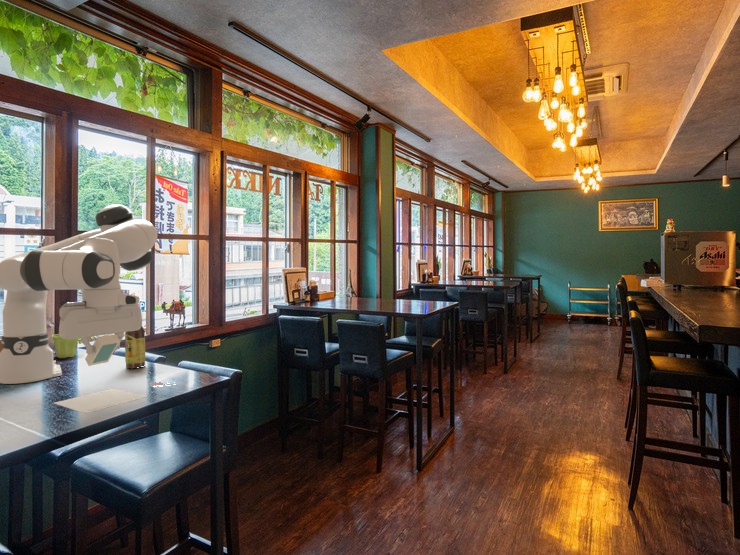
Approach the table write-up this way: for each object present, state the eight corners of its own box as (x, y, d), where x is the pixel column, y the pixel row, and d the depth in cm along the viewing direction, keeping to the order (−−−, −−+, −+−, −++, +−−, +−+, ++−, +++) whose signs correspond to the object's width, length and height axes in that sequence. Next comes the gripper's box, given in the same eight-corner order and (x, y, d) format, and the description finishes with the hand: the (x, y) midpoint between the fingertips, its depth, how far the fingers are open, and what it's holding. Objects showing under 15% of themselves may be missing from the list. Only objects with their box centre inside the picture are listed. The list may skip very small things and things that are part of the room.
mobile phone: (171, 372, 153) (178, 383, 140) (171, 375, 153) (178, 386, 140) (145, 375, 149) (151, 386, 136) (145, 378, 149) (151, 390, 136)
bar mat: (53, 404, 121) (53, 402, 121) (113, 389, 135) (113, 388, 135) (85, 415, 113) (85, 413, 113) (146, 398, 127) (146, 396, 127)
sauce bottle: (123, 367, 163) (122, 311, 162) (143, 364, 167) (141, 309, 166) (128, 370, 158) (126, 312, 157) (147, 367, 162) (146, 311, 161)
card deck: (85, 358, 123) (97, 337, 119) (103, 355, 127) (116, 334, 124) (88, 366, 122) (101, 344, 118) (107, 362, 126) (120, 341, 123)
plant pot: (85, 353, 186) (84, 332, 185) (72, 359, 176) (71, 336, 176) (61, 354, 185) (60, 332, 185) (46, 359, 176) (45, 336, 175)
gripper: (65, 303, 112) (67, 360, 112) (144, 297, 129) (146, 346, 130) (52, 302, 115) (54, 357, 115) (131, 296, 132) (132, 344, 133)
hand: (103, 351), depth 123 cm, fingers closed on card deck, 5 cm apart
